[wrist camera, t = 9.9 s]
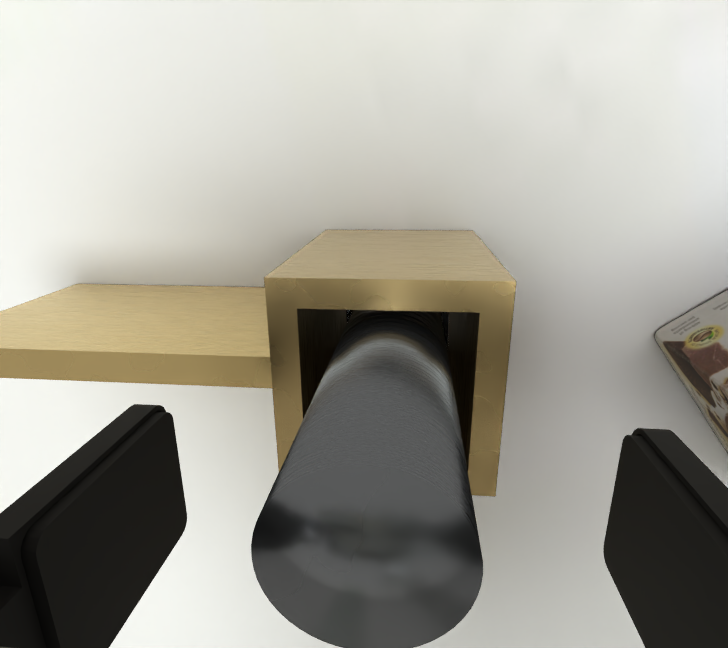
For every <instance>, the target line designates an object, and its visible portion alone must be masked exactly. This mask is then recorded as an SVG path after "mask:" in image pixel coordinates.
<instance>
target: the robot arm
mask: <svg viewBox="0 0 728 648" xmlns="http://www.w3.org/2000/svg"><path fill="white" fill-rule="evenodd" d="M186 522H187V512H186V505H185V498H184V492H183V485H182V478H181V471H180V464H179V457H178V450H177V443H176V436H175V429H174V422H173V417H172V415H171V414H170V413H168V412H166V411H165V409H164V407H162V406H160V405H139V404H134V405H132V406H131V407H129V408H128V409H127V410H126V411H125V412H123V413H122V414H121V415H120V416H119V417H117V418H116V419H115V420H114V421H112V422H111V423H110V424H109V425H108V426H106V427H105V428H104V429H103V430H101V431H100V432H99V433H98V434H97V435H95V436H94V437H93V438H92V439H90V440H89V441H88V442H87V443H86V444H84V445H83V446H82V447H81V448H80V449H78V450H77V451H76V452H75V453H73V454H72V455H71V456H70V457H69V458H67V459H66V460H65V461H64V462H62V463H61V464H60V465H59V466H58V467H56V468H55V469H54V470H53V471H51V472H50V473H49V474H48V475H47V476H45V477H44V478H43V479H42V480H41V481H39V482H38V483H37V484H36V485H34V486H33V487H32V488H31V489H30V490H28V491H27V492H26V493H25V494H23V495H22V496H21V497H20V498H19V499H17V500H16V501H15V502H14V503H12V504H11V505H10V506H9V507H8V508H6V509H5V510H4V511H3V512H2V513H0V648H109V647H110V645H111V643H112V642H113V640H114V639H115V637H116V636H117V634H118V633H119V631H120V630H121V628H122V627H123V625H124V623H125V622H126V620H127V619H128V617H129V616H130V614H131V613H132V611H133V610H134V608H135V606H136V605H137V603H138V602H139V600H140V599H141V597H142V596H143V594H144V593H145V591H146V590H147V588H148V586H149V585H150V583H151V582H152V580H153V579H154V577H155V576H156V574H157V573H158V571H159V569H160V568H161V566H162V565H163V563H164V562H165V560H166V559H167V557H168V556H169V554H170V553H171V551H172V549H173V548H174V546H175V545H176V543H177V542H178V540H179V539H180V537H181V536H182V534H183V532H184V530H185V527H186ZM604 559H605V563H606V565H607V568H608V570H609V572H610V574H611V576H612V578H613V581H614V583H615V585H616V587H617V589H618V591H619V593H620V595H621V597H622V599H623V602H624V604H625V606H626V608H627V610H628V612H629V614H630V616H631V618H632V620H633V623H634V625H635V627H636V629H637V631H638V633H639V635H640V637H641V639H642V641H643V644H644V646H645V648H728V488H727V487H726V486H725V485H724V484H723V483H722V482H721V481H720V480H719V479H718V478H717V477H716V476H715V475H714V474H713V473H712V472H711V471H710V470H709V469H708V467H707V466H706V465H705V464H704V463H703V462H702V461H701V460H700V459H699V458H698V457H697V456H696V455H695V454H694V453H693V452H692V451H691V450H690V449H689V448H688V447H687V446H686V445H685V444H684V443H683V442H682V441H681V440H680V439H679V438H678V437H677V436H676V435H675V434H674V433H673V432H672V431H671V430H664V429H643V428H637V429H636V430H634V432H633V434H632V435H627V436H625V437H624V439H623V443H622V448H621V453H620V459H619V464H618V470H617V475H616V481H615V486H614V492H613V497H612V503H611V508H610V514H609V519H608V525H607V530H606V536H605V541H604Z"/></svg>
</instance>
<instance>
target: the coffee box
mask: <svg viewBox="0 0 728 648" xmlns="http://www.w3.org/2000/svg"><path fill="white" fill-rule="evenodd" d="M655 339H656V341H657V343H658V344H659V346H660V348H661V349H662V351H663V353H664V354H665V356H666V357H667V359H668V361H669V362H670V364H671V365H672V367H673V368H674V370H675V372H676V373H677V375H678V376H679V378H680V379H681V381H682V382H683V384H684V385H685V387H686V389H687V390H688V392H689V393H690V395H691V396H692V398H693V399H694V401H695V402H696V404H697V406H698V407H699V409H700V410H701V412H702V413H703V415H704V417H705V418H706V420H707V421H708V423H709V425H710V426H711V428H712V429H713V431H714V433H715V434H716V436H717V437H718V439H719V440H720V442H721V443H722V445H723V447H724V448H725V450H726V451H727V453H728V290H726V291H725V292H723V293H721V294H719V295H718V296H716V297H714V298H712V299H711V300H709V301H707V302H705V303H704V304H702V305H700V306H698V307H696V308H695V309H693V310H691V311H689V312H688V313H686V314H684V315H682V316H681V317H679V318H677V319H675V320H674V321H672V322H670V323H669V324H667V325H665V326H664V327H662V328H660V329H659V330H658V331H657V332H656V334H655Z"/></svg>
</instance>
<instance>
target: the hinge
mask: <svg viewBox="0 0 728 648" xmlns="http://www.w3.org/2000/svg"><path fill="white" fill-rule="evenodd" d="M264 283H265V287H222V286H167V285H111V284H75V285H72V286H70V287H67V288H64V289H61V290H59V291H56V292H53V293H50V294H48V295H45V296H42V297H39V298H37V299H34V300H31V301H28V302H25V303H23V304H20V305H17V306H14V307H12V308H9V309H6V310H3V311H1V312H0V378H22V379H48V380H74V381H99V382H125V383H151V384H176V385H202V386H228V387H254V388H273V401H274V414H275V427H276V440H277V453H278V466H279V471H280V469H281V467H282V465H283V463H284V460H285V458H286V456H287V454H288V452H289V450H290V447H291V445H292V443H293V441H294V439H295V436H296V434H297V432H298V430H299V428H300V425H301V423H302V421H303V419H304V417H305V414H306V412H307V410H308V408H309V406H310V403H311V401H312V399H313V397H314V395H315V392H316V390H317V388H318V386H319V384H320V382H321V379H322V377H323V375H324V373H325V371H326V368H327V366H328V364H329V362H330V360H331V357H332V355H333V353H334V351H335V349H336V346H337V344H338V342H339V340H340V338H341V335H342V333H343V331H344V329H345V327H346V324H347V318H346V310H387V311H432V312H449V327H448V346H447V353H448V359H449V365H450V371H451V376H452V382H453V388H454V394H455V400H456V406H457V412H458V418H459V424H460V430H461V436H462V442H463V447H464V453H465V459H466V465H467V471H468V477H469V483H470V489H471V495H479V496H495V495H496V484H497V474H498V464H499V453H500V443H501V433H502V423H503V412H504V402H505V392H506V381H507V371H508V361H509V351H510V340H511V330H512V320H513V309H514V299H515V289H516V281H515V279H514V278H513V277H512V276H511V275H510V274H509V272H508V271H507V270H506V269H505V268H504V266H503V265H502V264H501V263H500V262H499V261H498V259H497V258H496V257H495V256H494V255H493V254H492V252H491V251H490V250H489V249H488V248H487V246H486V245H485V244H484V243H483V242H482V241H481V239H480V238H479V237H478V236H477V235H476V234H475V232H474V231H468V230H325V231H324V232H323V233H321V234H320V235H319V236H317V237H316V238H315V239H313V240H312V241H311V242H310V243H308V244H307V245H306V246H304V247H303V248H302V249H300V250H299V251H298V252H297V253H295V254H294V255H293V256H291V257H290V258H289V259H287V260H286V261H285V262H284V263H282V264H281V265H280V266H278V267H277V268H276V269H274V270H273V271H272V272H270V273H269V274H268V275H267V276H265V277H264Z"/></svg>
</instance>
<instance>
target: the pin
mask: <svg viewBox="0 0 728 648" xmlns="http://www.w3.org/2000/svg"><path fill="white" fill-rule="evenodd" d="M251 550H252V562H253V567H254V571H255V574H256V577H257V580H258V582H259V584H260V586H261V588H262V590H263V592H264V593H265V595H266V596H267V598H268V599H269V601H270V602H271V603H272V604H273V606H274V607H275V608H276V609H277V610H278V611H279V612H280V613H281V614H282V615H283V616H284V617H285V618H286V619H287V620H288V621H290V622H291V623H292V624H294V625H295V626H296V627H298V628H299V629H301V630H303V631H304V632H306V633H308V634H309V635H311V636H313V637H315V638H317V639H320V640H322V641H324V642H327V643H330V644H333V645H335V646H339V647H343V648H414V647H417V646H421V645H423V644H426V643H428V642H431V641H433V640H435V639H437V638H439V637H440V636H442V635H444V634H445V633H447V632H448V631H450V630H451V629H452V628H454V627H455V626H456V625H457V624H458V623H459V622H460V621H461V620H462V619H463V618H464V617H465V616H466V614H467V613H468V612H469V610H470V609H471V607H472V606H473V604H474V602H475V600H476V598H477V596H478V593H479V590H480V587H481V582H482V576H483V560H482V554H481V548H480V542H479V536H478V530H477V524H476V518H475V512H474V507H473V501H472V495H471V489H470V483H469V477H468V471H467V465H466V459H465V453H464V447H463V442H462V436H461V430H460V424H459V418H458V412H457V406H456V400H455V394H454V388H453V382H452V376H451V371H450V365H449V359H448V353H447V347H446V341H445V335H444V329H443V323H442V317H441V312H432V311H387V310H353V311H352V314H351V316H350V318H349V320H348V322H347V324H346V327H345V329H344V331H343V333H342V335H341V338H340V340H339V342H338V344H337V346H336V349H335V351H334V353H333V355H332V357H331V360H330V362H329V364H328V366H327V368H326V371H325V373H324V375H323V377H322V379H321V382H320V384H319V386H318V388H317V390H316V392H315V395H314V397H313V399H312V401H311V403H310V406H309V408H308V410H307V412H306V414H305V417H304V419H303V421H302V423H301V425H300V428H299V430H298V432H297V434H296V436H295V439H294V441H293V443H292V445H291V447H290V450H289V452H288V454H287V456H286V458H285V460H284V463H283V465H282V467H281V469H280V471H279V474H278V476H277V478H276V480H275V482H274V485H273V487H272V489H271V491H270V493H269V496H268V498H267V500H266V502H265V504H264V507H263V509H262V511H261V513H260V515H259V518H258V520H257V522H256V525H255V528H254V532H253V537H252V544H251Z"/></svg>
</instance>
